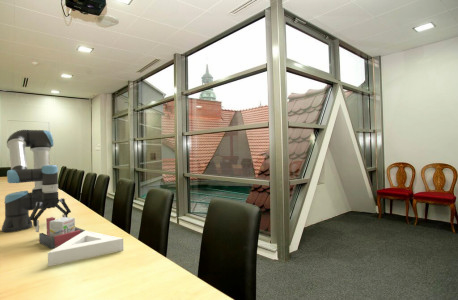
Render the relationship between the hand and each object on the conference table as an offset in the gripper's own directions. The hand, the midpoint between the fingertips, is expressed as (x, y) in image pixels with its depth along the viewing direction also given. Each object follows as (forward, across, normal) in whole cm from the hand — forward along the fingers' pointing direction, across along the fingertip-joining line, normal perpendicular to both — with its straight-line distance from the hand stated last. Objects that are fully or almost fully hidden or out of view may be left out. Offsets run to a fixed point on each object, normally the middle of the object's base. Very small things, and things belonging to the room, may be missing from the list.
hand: (51, 228), depth 147 cm
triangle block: (+6, +2, -37) cm, 38 cm away
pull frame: (+4, 0, -9) cm, 10 cm away
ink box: (+4, 0, -15) cm, 15 cm away
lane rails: (+4, 0, -15) cm, 16 cm away
